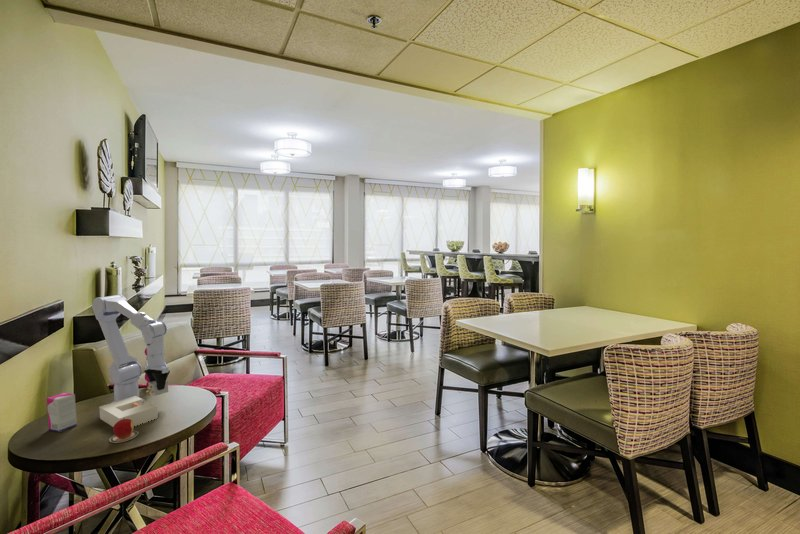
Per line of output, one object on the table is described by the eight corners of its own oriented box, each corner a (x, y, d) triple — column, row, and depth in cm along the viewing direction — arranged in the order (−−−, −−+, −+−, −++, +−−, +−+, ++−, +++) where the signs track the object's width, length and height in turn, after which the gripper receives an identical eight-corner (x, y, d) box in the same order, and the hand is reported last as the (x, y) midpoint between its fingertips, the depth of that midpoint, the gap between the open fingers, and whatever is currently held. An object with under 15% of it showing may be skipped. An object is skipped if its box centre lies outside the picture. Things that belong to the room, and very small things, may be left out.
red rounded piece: (131, 430, 138) (129, 411, 138) (143, 435, 134) (142, 416, 133) (104, 440, 131) (103, 421, 131) (116, 446, 127) (115, 426, 127)
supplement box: (77, 424, 142) (75, 393, 142) (59, 432, 137) (56, 400, 136) (66, 422, 144) (64, 391, 143) (47, 430, 139) (45, 398, 138)
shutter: (133, 413, 150) (132, 403, 150) (136, 412, 151) (135, 402, 151) (139, 416, 147) (139, 406, 147) (142, 415, 148) (142, 405, 148)
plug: (145, 394, 153) (144, 383, 153) (162, 389, 158) (162, 378, 158) (151, 397, 151) (150, 385, 150) (168, 391, 156) (167, 380, 155)
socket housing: (100, 418, 147) (99, 406, 147) (136, 407, 157) (135, 395, 156) (120, 431, 137) (119, 418, 136) (158, 418, 146) (157, 406, 146)
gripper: (136, 353, 155) (138, 387, 156) (153, 359, 146) (155, 395, 147) (155, 348, 160) (157, 381, 161) (173, 354, 152) (175, 389, 153)
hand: (158, 388), depth 155 cm, fingers closed on plug, 4 cm apart
